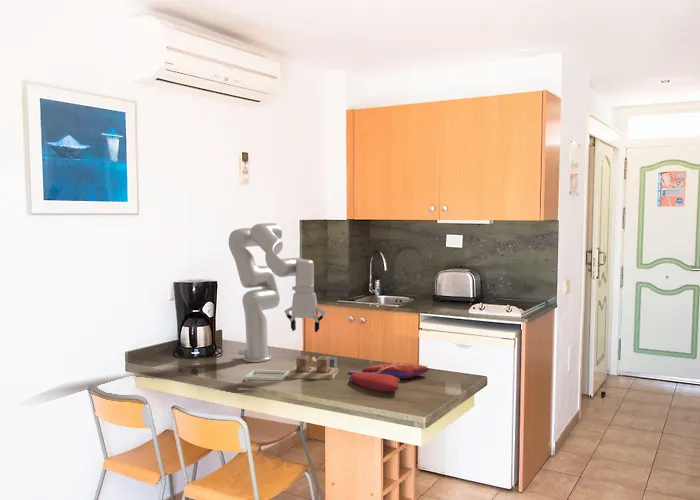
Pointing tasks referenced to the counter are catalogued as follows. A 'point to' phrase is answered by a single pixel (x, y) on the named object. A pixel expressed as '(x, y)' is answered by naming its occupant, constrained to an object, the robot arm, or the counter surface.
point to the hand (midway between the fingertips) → (305, 330)
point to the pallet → (313, 374)
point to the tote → (250, 376)
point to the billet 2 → (323, 364)
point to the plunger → (313, 361)
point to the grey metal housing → (333, 362)
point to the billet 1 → (303, 364)
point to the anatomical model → (386, 375)
